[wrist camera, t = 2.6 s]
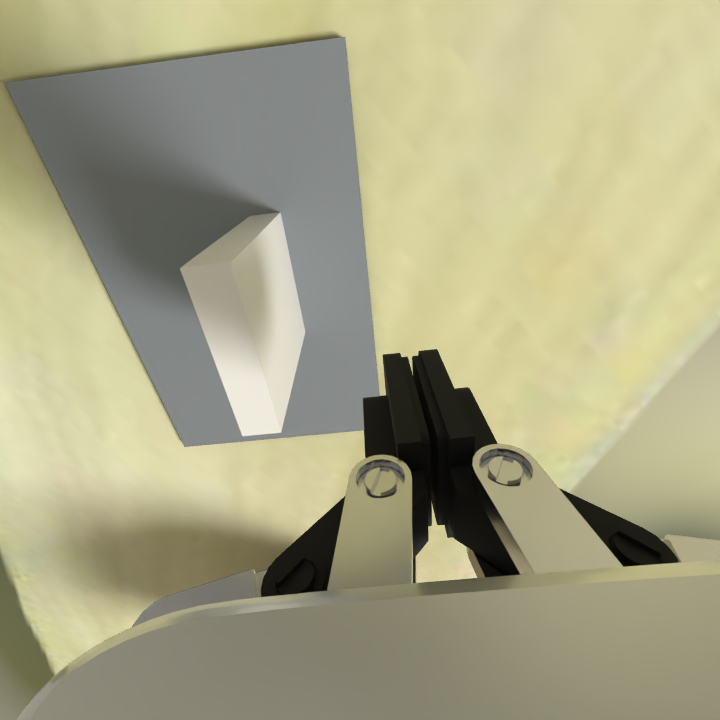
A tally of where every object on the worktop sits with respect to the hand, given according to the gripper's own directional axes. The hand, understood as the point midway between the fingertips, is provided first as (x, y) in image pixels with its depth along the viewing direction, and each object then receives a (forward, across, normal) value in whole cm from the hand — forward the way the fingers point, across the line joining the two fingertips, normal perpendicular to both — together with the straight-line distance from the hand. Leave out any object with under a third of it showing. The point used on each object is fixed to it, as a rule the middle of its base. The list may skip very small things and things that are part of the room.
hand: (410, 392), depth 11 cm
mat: (+11, +8, 0) cm, 14 cm away
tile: (+11, +6, -1) cm, 12 cm away
